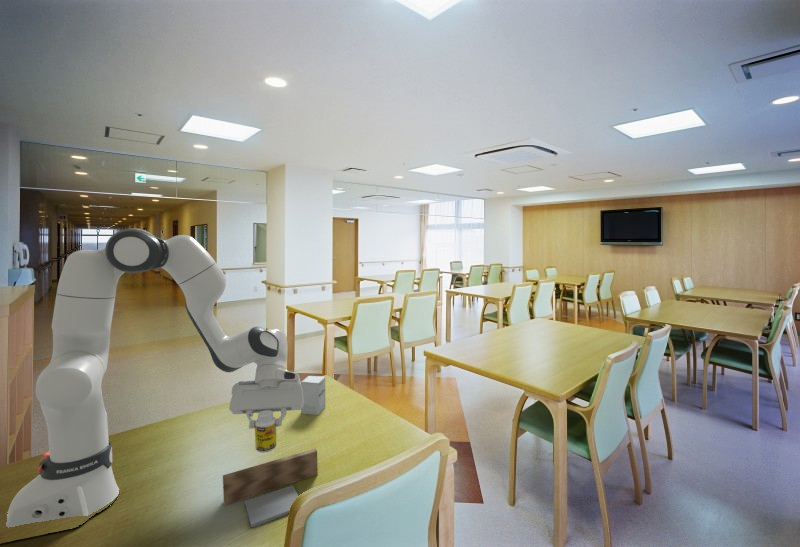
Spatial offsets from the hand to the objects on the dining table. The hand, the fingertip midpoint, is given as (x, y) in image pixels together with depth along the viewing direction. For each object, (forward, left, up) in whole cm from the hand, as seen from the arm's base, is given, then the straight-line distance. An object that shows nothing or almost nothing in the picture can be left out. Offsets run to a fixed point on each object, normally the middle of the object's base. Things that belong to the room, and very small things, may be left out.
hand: (265, 426), depth 103 cm
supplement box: (+25, +34, -15) cm, 44 cm away
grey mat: (-1, -13, -14) cm, 20 cm away
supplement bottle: (0, +1, -7) cm, 7 cm away
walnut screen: (+1, -6, -14) cm, 16 cm away
